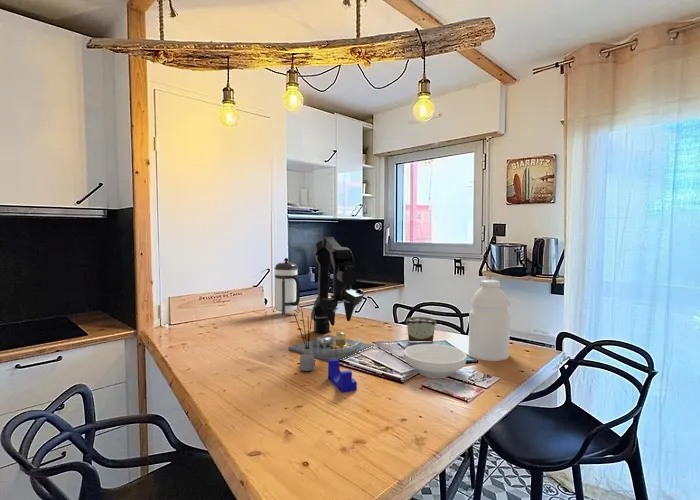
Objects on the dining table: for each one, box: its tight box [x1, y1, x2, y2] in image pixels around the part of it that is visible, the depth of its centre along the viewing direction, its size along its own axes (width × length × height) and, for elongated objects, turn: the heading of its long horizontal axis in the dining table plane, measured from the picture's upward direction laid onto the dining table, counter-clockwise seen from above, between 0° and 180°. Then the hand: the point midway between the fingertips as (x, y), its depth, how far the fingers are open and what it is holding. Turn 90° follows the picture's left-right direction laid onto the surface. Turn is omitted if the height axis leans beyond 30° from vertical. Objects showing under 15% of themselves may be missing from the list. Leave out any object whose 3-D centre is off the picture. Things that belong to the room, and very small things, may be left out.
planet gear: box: [331, 331, 351, 349], centre depth 148 cm, size 8×8×6 cm
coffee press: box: [272, 257, 301, 316], centre depth 215 cm, size 17×16×30 cm
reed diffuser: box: [293, 308, 316, 372], centre depth 128 cm, size 10×7×20 cm
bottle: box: [467, 279, 511, 362], centre depth 142 cm, size 14×14×28 cm
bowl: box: [403, 343, 468, 379], centre depth 125 cm, size 20×20×7 cm
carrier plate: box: [288, 334, 374, 362], centre depth 152 cm, size 23×23×4 cm
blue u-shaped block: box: [327, 359, 358, 394], centre depth 117 cm, size 12×4×6 cm, turn 22°
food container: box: [405, 316, 438, 343], centre depth 161 cm, size 12×6×10 cm, turn 84°
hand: (340, 323), depth 148 cm, fingers open, 9 cm apart
